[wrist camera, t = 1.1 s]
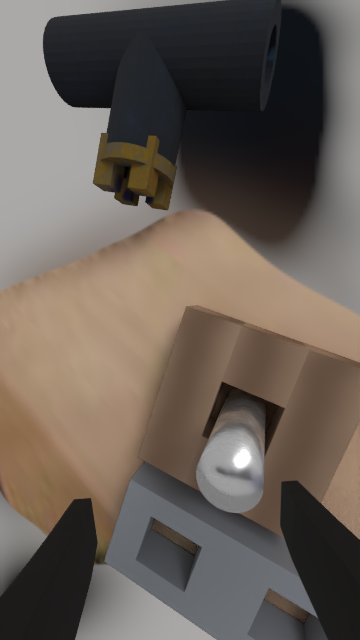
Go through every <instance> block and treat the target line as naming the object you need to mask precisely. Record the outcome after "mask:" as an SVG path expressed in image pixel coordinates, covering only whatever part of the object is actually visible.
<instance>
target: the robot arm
mask: <svg viewBox="0 0 360 640" xmlns="http://www.w3.org/2000/svg"><path fill="white" fill-rule="evenodd" d="M280 527H281V530H282V533H283V536H284V539H285V542H286V545H287V548H288V550H289V553H290V556H291V559H292V561H293V563H294V566H295V568H296V570H297V572H298V575H299V577H300V579H301V581H302V584H303V586H304V588H305V590H306V593H307V595H308V597H309V599H310V601H311V604H312V606H313V608H314V610H315V612H316V615H317V617H318V619H319V621H320V623H321V626H322V628H323V630H324V632H325V634H326V637H327V639H328V640H360V540H359V539H358V538H357V537H356V536H355V535H354V534H353V533H352V532H351V531H349V530H348V529H347V528H346V527H345V526H344V525H343V524H342V523H341V522H340V521H339V520H338V519H336V518H335V517H334V516H333V515H332V514H331V513H330V512H329V511H328V510H327V509H326V508H325V507H324V506H323V505H322V504H321V503H320V502H319V501H318V500H317V499H316V498H315V497H314V496H313V495H312V494H311V493H310V492H309V491H308V490H307V489H306V488H305V487H304V486H303V485H302V484H301V483H299V482H298V481H297V480H295V481H283V482H281V509H280ZM96 548H97V536H96V529H95V522H94V516H93V509H92V502H91V498H86V499H75V500H74V501H73V502H72V503H71V504H70V506H69V507H68V508H67V510H66V511H65V513H64V514H63V516H62V517H61V518H60V520H59V521H58V523H57V524H56V525H55V527H54V528H53V530H52V531H51V532H50V534H49V535H48V537H47V538H46V540H45V541H44V542H43V543H42V545H41V546H40V547H39V549H38V550H37V552H36V553H35V554H34V555H33V557H32V558H31V559H30V561H29V562H28V563H27V564H26V566H25V567H24V568H23V570H22V571H21V572H20V573H19V575H18V576H17V577H16V578H15V579H14V581H13V582H12V583H11V584H10V586H9V587H8V588H7V589H6V591H5V592H4V593H3V594H2V595H1V597H0V640H75V637H76V634H77V630H78V626H79V622H80V618H81V615H82V611H83V608H84V604H85V599H86V596H87V592H88V589H89V585H90V581H91V577H92V571H93V566H94V560H95V554H96Z"/></svg>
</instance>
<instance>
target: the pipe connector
mask: <svg viewBox="0 0 360 640" xmlns="http://www.w3.org/2000/svg"><path fill="white" fill-rule="evenodd" d="M280 22H281V0H226V1H216V2H205V3H195V4H184V5H174V6H164V7H153V8H143V9H132V10H122V11H112V12H102V13H91V14H81V15H70V16H60V17H54V18H51V19H50V20H49V22H48V23H47V25H46V27H45V31H44V35H43V51H44V58H45V64H46V67H47V71H48V74H49V77H50V79H51V82H52V84H53V86H54V88H55V90H56V91H57V93H58V94H59V96H60V97H61V98H62V99H63V100H64V101H65V102H66V103H67V104H68V105H70V106H72V107H82V108H111V111H110V117H109V123H108V128H107V133H101V138H100V144H99V150H98V156H97V162H96V168H95V174H94V180H93V184H95V185H96V186H98V187H99V188H100V189H102V190H103V191H108V192H115V196H114V198H115V199H116V200H118V201H119V202H121V203H122V204H126V205H133V206H137V205H138V201H139V195H141V196H146V201H145V202H146V203H147V204H149V205H150V206H151V207H152V208H155V209H163V210H168V208H169V203H170V199H171V194H172V189H173V184H174V179H175V174H176V169H177V166H176V165H175V163H176V158H177V153H178V148H179V143H180V139H181V133H182V129H183V124H184V119H185V114H186V110H221V111H225V110H226V111H263V110H264V108H265V106H266V103H267V100H268V96H269V92H270V88H271V84H272V79H273V74H274V68H275V62H276V56H277V48H278V42H279V33H280Z"/></svg>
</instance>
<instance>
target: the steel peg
mask: <svg viewBox="0 0 360 640" xmlns="http://www.w3.org/2000/svg"><path fill="white" fill-rule="evenodd" d="M265 417H266V404H265V401H264V399H262V398H260V397H258V396H255V395H253V394H250V393H248V392H246V391H243V390H241V389H239V388H234V389H233V390H231V391H230V392H229V394H228V395H227V397H226V400H225V402H224V404H223V407H222V409H221V411H220V414H219V416H218V418H217V421H216V423H215V425H214V428H213V430H212V432H211V435H210V437H209V439H208V442H207V444H206V446H205V449H204V451H203V453H202V456H201V458H200V460H199V463H198V465H197V470H196V479H197V483H198V486H199V489H200V491H201V492H202V494H203V495H204V497H205V498H206V499H207V500H208V501H209V502H210V503H211V504H212V505H214V506H215V507H217V508H219V509H221V510H223V511H226V512H230V513H242V512H246V511H249V510H251V509H252V508H254V507H255V506H256V505H257V504H258V503H259V501H260V499H261V497H262V494H263V483H264V450H265Z"/></svg>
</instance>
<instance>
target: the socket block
mask: <svg viewBox="0 0 360 640" xmlns="http://www.w3.org/2000/svg"><path fill="white" fill-rule="evenodd" d="M223 383H227V384H229V385H232V386H234V387H236V388H239V389H241V390H243V391H246V392H248V393H250V394H253V395H255V396H258V397H260V398H262V399H265V400H267V401H269V402H272V403H274V404H276V405H278V406H277V408H276V411H275V413H274V415H273V418H272V420H271V423H270V425H269V428H268V430H267V432H266V435H265V450H264V483H263V494H262V497H261V499H260V501H259V503H258V504H257V505H256V506H255V507H254V508H252V509H251V510H249V511H246V512H242V513H240V514H242V515H244V516H245V517H247V518H249V519H251V520H253V521H254V522H256V523H258V524H260V525H262V526H263V527H265V528H267V529H269V530H271V531H273V532H274V533H276V534H278V535H280V536H282V537H283V538H284V536H283V533H282V530H281V527H280V509H281V482H283V481H295V480H297V481H298V482H299V483H301V484H302V485H303V486H304V487H305V488H306V489H307V490H308V491H309V492H310V493H311V494H312V495H313V496H314V497H315V498H316V499H317V500H318V501H319V502H320V503H321V501H322V499H323V497H324V495H325V493H326V491H327V489H328V487H329V485H330V482H331V480H332V478H333V476H334V474H335V472H336V470H337V468H338V466H339V464H340V461H341V459H342V457H343V455H344V453H345V451H346V449H347V447H348V445H349V443H350V440H351V438H352V436H353V434H354V432H355V430H356V428H357V426H358V424H359V421H360V363H359V362H356V361H353V360H350V359H347V358H345V357H342V356H339V355H336V354H333V353H330V352H328V351H325V350H322V349H319V348H316V347H313V346H311V345H308V344H305V343H302V342H299V341H296V340H294V339H291V338H288V337H285V336H282V335H279V334H277V333H274V332H271V331H268V330H265V329H262V328H260V327H257V326H254V325H251V324H248V323H245V322H243V321H240V320H237V319H234V318H231V317H229V316H226V315H223V314H220V313H217V312H214V311H212V310H209V309H206V308H203V307H200V306H187V307H186V309H185V312H184V315H183V318H182V321H181V324H180V327H179V331H178V334H177V337H176V340H175V343H174V346H173V349H172V352H171V355H170V358H169V362H168V365H167V368H166V371H165V374H164V377H163V380H162V383H161V386H160V390H159V393H158V396H157V399H156V402H155V405H154V408H153V411H152V414H151V417H150V421H149V424H148V427H147V430H146V433H145V436H144V439H143V442H142V445H141V448H140V452H139V455H138V458H140V459H142V460H144V461H145V462H147V463H149V464H151V465H153V466H155V467H156V468H158V469H160V470H162V471H164V472H165V473H167V474H169V475H171V476H173V477H174V478H176V479H178V480H180V481H182V482H184V483H185V484H187V485H189V486H191V487H193V488H194V489H196V490H198V491H200V489H199V486H198V483H197V479H196V470H197V465H198V463H199V460H200V458H201V456H202V453H203V451H204V449H205V446H206V444H207V442H208V439H209V437H210V435H211V432H212V430H213V428H214V425H215V423H216V420H214V419H212V418H211V415H212V413H213V410H214V407H215V404H216V402H217V399H218V396H219V394H220V391H221V388H222V385H223ZM200 492H201V491H200Z"/></svg>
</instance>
